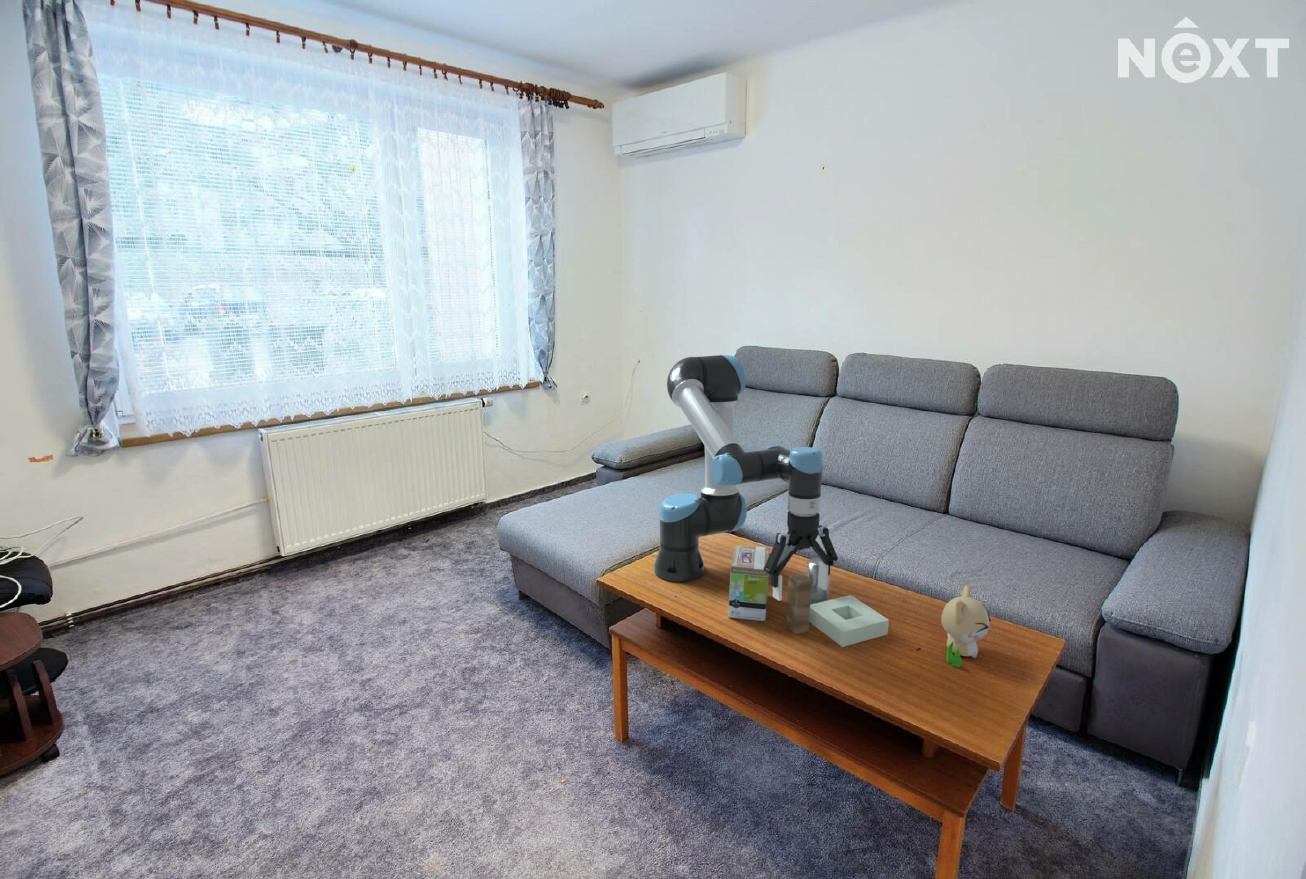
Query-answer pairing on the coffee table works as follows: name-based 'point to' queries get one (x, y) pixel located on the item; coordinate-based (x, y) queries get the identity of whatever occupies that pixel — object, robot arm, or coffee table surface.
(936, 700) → the coffee table surface
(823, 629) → the socket block
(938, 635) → the coffee table surface
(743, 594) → the tea box
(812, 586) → the round peg
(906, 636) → the coffee table surface
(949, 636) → the kitten
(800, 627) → the square peg
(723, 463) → the robot arm
